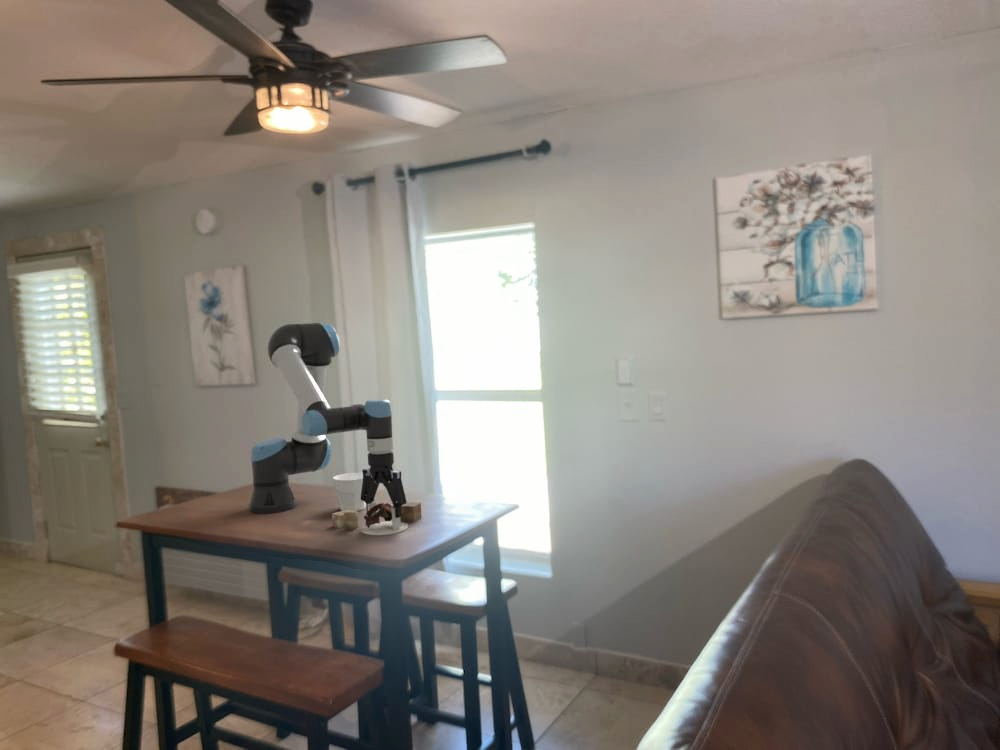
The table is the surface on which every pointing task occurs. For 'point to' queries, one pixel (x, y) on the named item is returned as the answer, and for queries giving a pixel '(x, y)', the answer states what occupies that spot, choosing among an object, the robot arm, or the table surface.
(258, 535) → the table surface
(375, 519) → the pottery mug
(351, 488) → the cup
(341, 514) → the maple block
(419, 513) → the walnut block
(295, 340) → the robot arm
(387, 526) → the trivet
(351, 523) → the oak dowel offcut
